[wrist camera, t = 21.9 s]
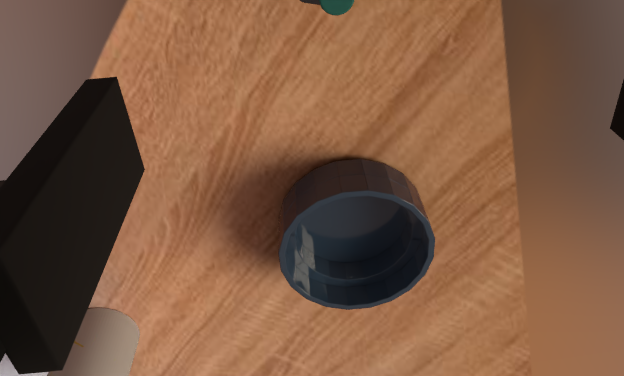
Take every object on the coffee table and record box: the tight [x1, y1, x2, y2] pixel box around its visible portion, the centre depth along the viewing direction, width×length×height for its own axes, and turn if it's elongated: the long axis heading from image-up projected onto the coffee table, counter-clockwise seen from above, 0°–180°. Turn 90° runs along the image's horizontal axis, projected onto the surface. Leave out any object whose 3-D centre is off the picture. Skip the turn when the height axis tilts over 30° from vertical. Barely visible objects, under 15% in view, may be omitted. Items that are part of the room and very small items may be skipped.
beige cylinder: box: [47, 308, 140, 376], centre depth 57 cm, size 8×8×12 cm
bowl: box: [278, 159, 435, 310], centre depth 52 cm, size 15×15×6 cm
